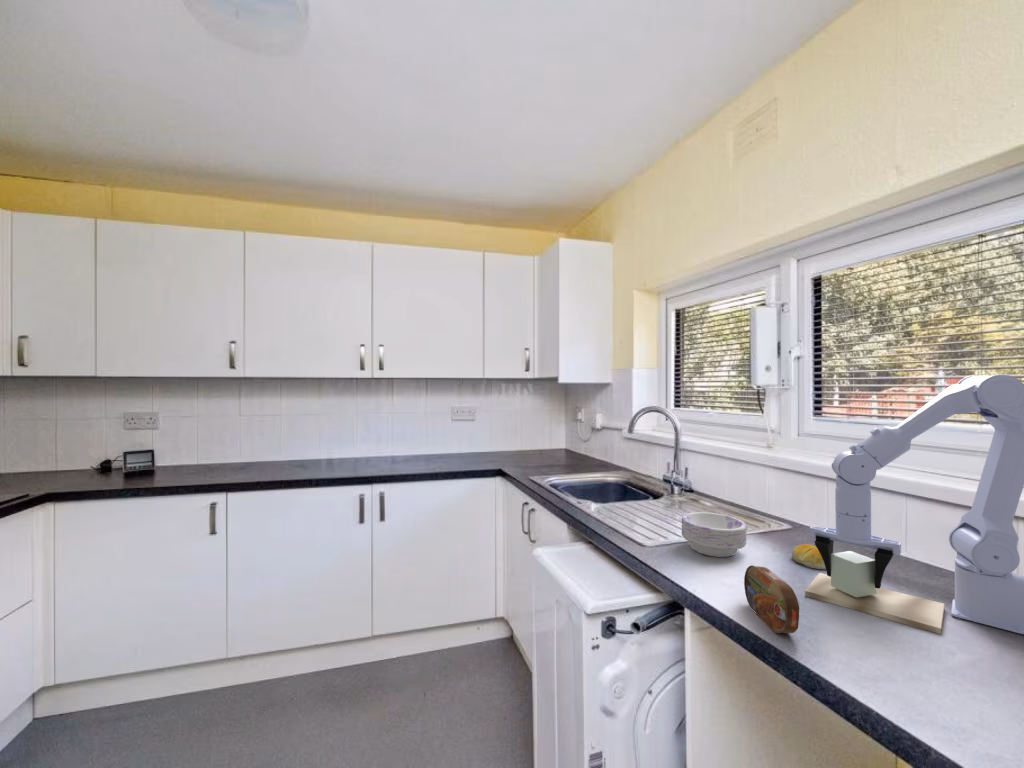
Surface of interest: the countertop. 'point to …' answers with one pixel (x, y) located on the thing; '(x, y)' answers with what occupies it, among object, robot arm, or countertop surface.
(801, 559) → the bread roll
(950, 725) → the countertop surface
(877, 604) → the board
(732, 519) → the paper bowls
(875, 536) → the robot arm
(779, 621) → the tin
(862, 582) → the pale green block
